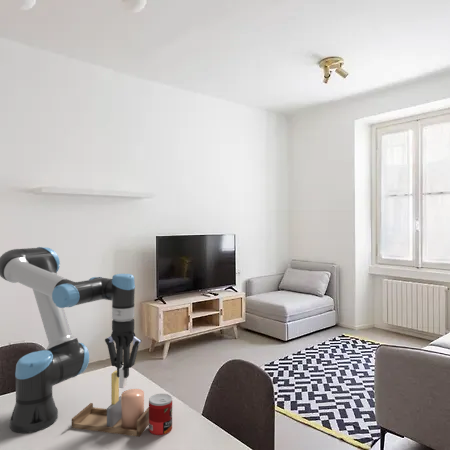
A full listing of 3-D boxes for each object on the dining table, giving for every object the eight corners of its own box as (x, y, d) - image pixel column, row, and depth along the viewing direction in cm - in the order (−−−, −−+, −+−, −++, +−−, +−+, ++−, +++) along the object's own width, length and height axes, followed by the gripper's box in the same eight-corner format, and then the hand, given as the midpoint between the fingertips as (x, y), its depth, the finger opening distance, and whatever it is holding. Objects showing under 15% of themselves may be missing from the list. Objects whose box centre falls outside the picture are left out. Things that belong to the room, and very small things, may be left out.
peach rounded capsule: (117, 430, 127) (117, 397, 127) (127, 418, 134) (127, 387, 134) (138, 432, 125) (138, 399, 125) (147, 420, 133) (147, 389, 133)
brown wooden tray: (71, 429, 128) (71, 413, 128) (90, 412, 140) (90, 397, 140) (139, 438, 123) (139, 421, 123) (153, 420, 134) (153, 404, 134)
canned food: (167, 438, 123) (167, 404, 123) (144, 435, 125) (145, 402, 125) (175, 426, 131) (175, 394, 131) (153, 423, 132) (153, 392, 132)
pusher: (106, 429, 127) (106, 377, 127) (119, 415, 136) (119, 367, 136) (110, 429, 127) (110, 377, 126) (122, 415, 136) (123, 367, 135)
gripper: (100, 320, 128) (100, 389, 128) (136, 322, 125) (135, 393, 126) (111, 315, 135) (111, 380, 136) (145, 317, 133) (144, 383, 133)
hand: (122, 386), depth 131 cm, fingers closed
